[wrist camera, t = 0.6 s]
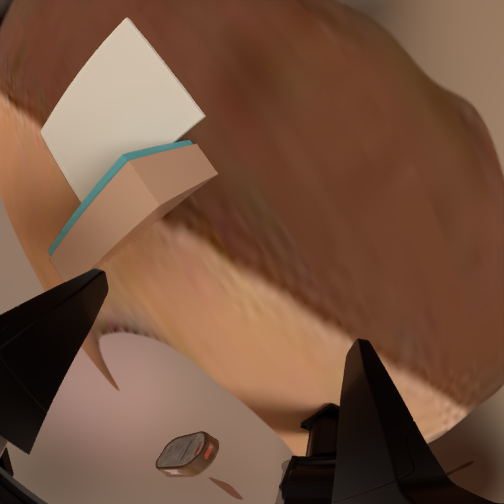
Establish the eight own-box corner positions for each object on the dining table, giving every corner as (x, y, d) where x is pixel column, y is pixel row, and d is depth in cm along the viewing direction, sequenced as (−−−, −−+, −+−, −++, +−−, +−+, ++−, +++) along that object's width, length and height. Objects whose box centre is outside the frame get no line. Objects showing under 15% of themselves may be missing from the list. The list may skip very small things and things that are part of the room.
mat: (205, 116, 21) (203, 116, 20) (96, 221, 27) (93, 222, 27) (128, 18, 18) (126, 17, 17) (42, 131, 25) (40, 132, 24)
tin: (178, 445, 46) (162, 479, 39) (165, 437, 46) (147, 470, 38) (226, 434, 39) (209, 478, 32) (211, 424, 39) (192, 468, 31)
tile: (218, 173, 23) (159, 205, 15) (130, 244, 28) (70, 289, 20) (192, 138, 22) (122, 152, 14) (109, 215, 27) (45, 253, 19)
